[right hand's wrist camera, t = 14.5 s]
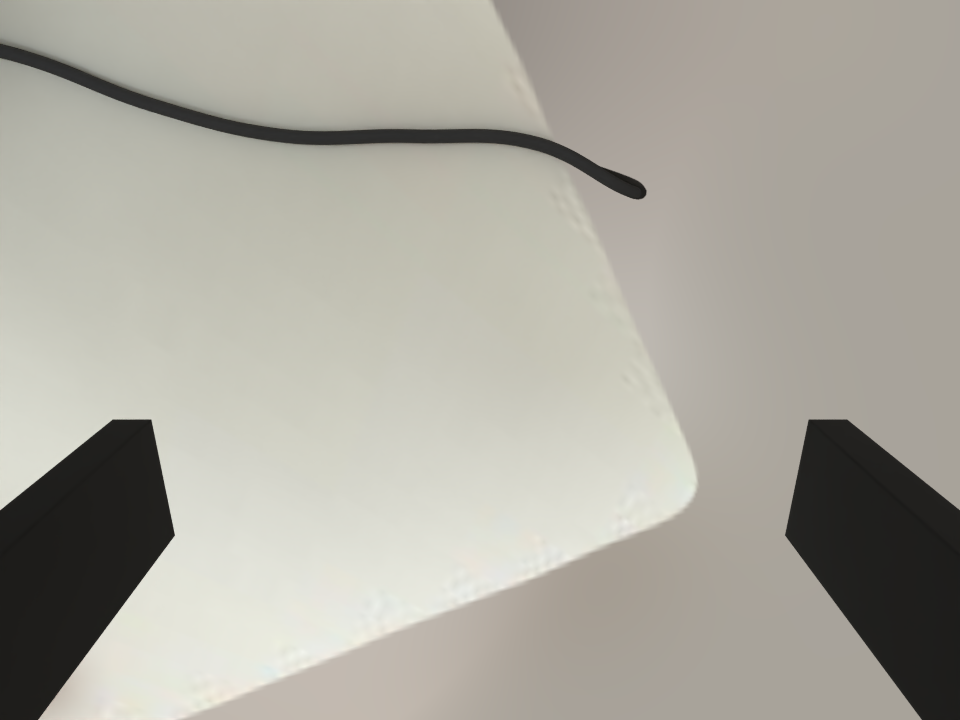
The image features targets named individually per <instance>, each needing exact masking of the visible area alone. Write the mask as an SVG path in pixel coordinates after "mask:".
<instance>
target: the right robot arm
mask: <svg viewBox="0 0 960 720" xmlns="http://www.w3.org/2000/svg"><path fill="white" fill-rule="evenodd" d="M0 58H3V59H7V60H11V61H14V62H18V63H21V64H25V65H28V66H31V67H34V68H37V69H40V70H43V71H46V72H49V73H52V74H54V75H57V76H59V77H62V78H65V79H67V80H70V81H72V82H75V83H77V84H79V85H82V86H84V87H87V88H89V89H91V90H94V91H96V92H99V93H101V94H103V95H106V96H108V97H111V98H114V99H116V100H119V101H121V102H124V103H127V104H130V105H133V106H135V107H138V108H142V109H145V110H148V111H151V112H154V113H158V114H161V115H164V116H168V117H171V118H174V119H178V120H181V121H184V122H188V123H191V124H195V125H198V126H202V127H206V128H209V129H213V130H217V131H221V132H225V133H230V134H234V135H239V136H244V137H250V138H255V139H262V140H268V141H276V142H284V143H293V144H309V145H341V144H364V143H498V144H507V145H514V146H519V147H524V148H529V149H533V150H537V151H540V152H543V153H546V154H549V155H551V156H554V157H556V158H558V159H561V160H563V161H565V162H567V163H569V164H571V165H572V166H574V167H576V168H578V169H579V170H581V171H583V172H584V173H586V174H587V175H589V176H591V177H592V178H594V179H595V180H597V181H599V182H600V183H602V184H603V185H605V186H607V187H608V188H610V189H612V190H614V191H616V192H618V193H620V194H622V195H625V196H627V197H630V198H633V199H637V200H639V199H643V198H644V197H645V196H646V193H647V190H646V188H645V187H644V185H643V184H642V183H640V182H639V181H637V180H635V179H633V178H631V177H629V176H626V175H623V174H621V173H618V172H615V171H612V170H609V169H606V168H603V167H600V166H598V165H596V164H595V163H593V162H592V161H590V160H588V159H587V158H585V157H583V156H582V155H580V154H578V153H576V152H575V151H573V150H571V149H569V148H567V147H564V146H562V145H560V144H557V143H555V142H552V141H550V140H546V139H543V138H540V137H536V136H532V135H527V134H522V133H517V132H510V131H502V130H489V129H449V130H412V129H378V130H354V131H297V130H286V129H277V128H270V127H263V126H257V125H251V124H245V123H240V122H235V121H231V120H226V119H222V118H218V117H214V116H211V115H207V114H203V113H200V112H196V111H193V110H189V109H186V108H183V107H179V106H176V105H173V104H169V103H166V102H163V101H159V100H156V99H153V98H150V97H147V96H144V95H141V94H138V93H135V92H132V91H129V90H127V89H124V88H121V87H119V86H116V85H114V84H111V83H109V82H106V81H104V80H101V79H99V78H97V77H94V76H92V75H90V74H87V73H85V72H82V71H80V70H78V69H75V68H73V67H70V66H68V65H65V64H62V63H60V62H57V61H54V60H52V59H49V58H46V57H43V56H40V55H37V54H34V53H31V52H28V51H24V50H21V49H18V48H14V47H10V46H7V45H3V44H0ZM174 536H175V534H174V529H173V524H172V519H171V514H170V509H169V504H168V499H167V494H166V490H165V485H164V480H163V475H162V470H161V465H160V460H159V455H158V450H157V445H156V440H155V435H154V431H153V426H152V421H151V420H112V421H111V422H109V423H108V424H107V425H106V426H104V427H103V428H102V429H101V430H99V431H98V432H97V433H96V434H94V435H93V436H92V437H91V438H89V439H88V440H87V441H86V442H85V443H83V444H82V445H81V446H80V447H78V448H77V449H76V450H75V451H73V452H72V453H71V454H70V455H68V456H67V457H66V458H65V459H63V460H62V461H61V462H60V463H58V464H57V465H56V466H55V467H53V468H52V469H51V470H50V471H48V472H47V473H46V474H45V475H44V476H42V477H41V478H40V479H39V480H37V481H36V482H35V483H34V484H32V485H31V486H30V487H29V488H27V489H26V490H25V491H24V492H22V493H21V494H20V495H19V496H17V497H16V498H15V499H14V500H12V501H11V502H10V503H9V504H8V505H6V506H5V507H4V508H3V509H1V510H0V720H38V719H39V718H40V716H41V715H42V714H43V712H44V711H45V710H46V708H47V707H48V706H49V704H50V703H51V702H52V700H53V699H54V698H55V696H56V695H57V694H58V692H59V691H60V689H61V688H62V687H63V685H64V684H65V683H66V681H67V680H68V679H69V677H70V676H71V675H72V673H73V672H74V671H75V669H76V668H77V667H78V665H79V664H80V663H81V661H82V660H83V658H84V657H85V656H86V654H87V653H88V652H89V650H90V649H91V648H92V646H93V645H94V644H95V642H96V641H97V640H98V638H99V637H100V636H101V634H102V633H103V632H104V630H105V629H106V627H107V626H108V625H109V623H110V622H111V621H112V619H113V618H114V617H115V615H116V614H117V613H118V611H119V610H120V609H121V607H122V606H123V605H124V603H125V602H126V601H127V599H128V598H129V596H130V595H131V594H132V592H133V591H134V590H135V588H136V587H137V586H138V584H139V583H140V582H141V580H142V579H143V578H144V576H145V575H146V574H147V572H148V571H149V570H150V568H151V567H152V565H153V564H154V563H155V561H156V560H157V559H158V557H159V556H160V555H161V553H162V552H163V551H164V549H165V548H166V547H167V545H168V544H169V543H170V541H171V540H172V539H173V537H174ZM785 536H786V537H787V538H788V540H789V541H790V543H791V544H792V545H793V547H794V548H795V549H796V551H797V552H798V553H799V555H800V556H801V557H802V559H803V560H804V561H805V563H806V564H807V565H808V567H809V568H810V570H811V571H812V572H813V574H814V575H815V576H816V578H817V579H818V580H819V582H820V583H821V584H822V586H823V587H824V588H825V590H826V591H827V592H828V594H829V595H830V596H831V598H832V599H833V601H834V602H835V603H836V604H837V606H838V607H839V609H840V610H841V611H842V613H843V614H844V615H845V617H846V618H847V619H848V621H849V622H850V623H851V625H852V626H853V627H854V629H855V630H856V631H857V633H858V634H859V636H860V637H861V638H862V640H863V641H864V642H865V644H866V645H867V646H868V648H869V649H870V650H871V652H872V653H873V654H874V656H875V657H876V658H877V660H878V661H879V663H880V664H881V665H882V667H883V668H884V669H885V671H886V672H887V673H888V675H889V676H890V677H891V679H892V680H893V681H894V683H895V684H896V685H897V687H898V688H899V689H900V691H901V692H902V694H903V695H904V696H905V698H906V699H907V700H908V702H909V703H910V704H911V706H912V707H913V708H914V710H915V711H916V712H917V714H918V715H919V716H920V718H921V719H922V720H960V510H959V509H957V508H956V507H955V506H954V505H952V504H951V503H950V502H949V501H948V500H946V499H945V498H944V497H943V496H941V495H940V494H939V493H938V492H936V491H935V490H934V489H933V488H931V487H930V486H929V485H928V484H926V483H925V482H924V481H923V480H921V479H920V478H919V477H918V476H916V475H915V474H914V473H913V472H912V471H910V470H909V469H908V468H907V467H905V466H904V465H903V464H902V463H900V462H899V461H898V460H897V459H895V458H894V457H893V456H892V455H890V454H889V453H888V452H887V451H885V450H884V449H883V448H882V447H880V446H879V445H878V444H877V443H875V442H874V441H873V440H872V439H871V438H869V437H868V436H867V435H866V434H864V433H863V432H862V431H861V430H859V429H858V428H857V427H856V426H854V425H853V424H852V423H851V422H849V421H848V420H809V421H808V426H807V431H806V436H805V440H804V445H803V450H802V455H801V460H800V465H799V470H798V475H797V480H796V485H795V489H794V495H793V499H792V504H791V509H790V514H789V519H788V524H787V529H786V534H785Z"/></svg>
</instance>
